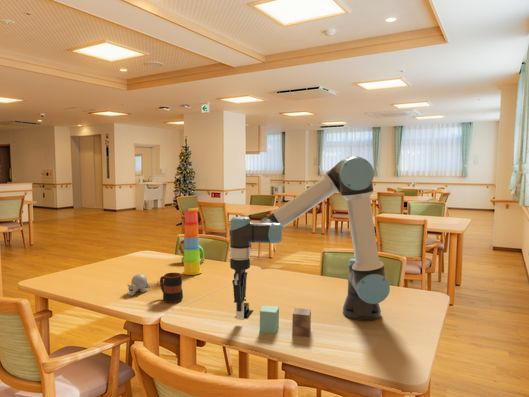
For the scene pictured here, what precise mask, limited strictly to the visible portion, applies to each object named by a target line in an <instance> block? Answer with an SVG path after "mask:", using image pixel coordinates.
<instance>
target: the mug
mask: <svg viewBox="0 0 529 397" xmlns="http://www.w3.org/2000/svg"><path fill="white" fill-rule="evenodd" d="M182 277H183V276H182V274H181V273H179V272H167V273H165V274H164V275H163V276H161V277H160V278H159V286H160V289H161V292H162V299H163V301H164V303H166V304H167V303H168V304H176V303H180V302H181V301H182V300H183V298H184V294H183V293H184V292H183V288H182V287H183V286H182V284H183V278H182Z"/></svg>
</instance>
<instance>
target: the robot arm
mask: <svg viewBox="0 0 529 397" xmlns="http://www.w3.org/2000/svg"><path fill="white" fill-rule="evenodd" d="M374 176H375V171H374V168H373V165H372V164H371V163H370V162H369V161H368V160H367V159H365V158H364V157H361V156H350V157H344V158H343V159H341V160H340V161H339V162H337V163H336V164H335V165H334V166H333V167H331V168H330V169H329V170H328V171H327V172H325V173H324V177H322V178H321V179H320V180H318V181H316V182H315V183H314V184H312V185H311V186H309V187H308V188H306V189H305V190H303V191H302V192H301V193H299V194H298V195H297V196H295V197H293V198H292V199H291V200H289V201H287V202H286V203H285V204H282V206H281V207H279V208H277V209H276V210H274V211H273V212H272V213H270V214H269V215H267V216H265V217H263V218H261V219H260V220H259V222H251V219H250V217H248V216H234V217H232V218H231V219H230V224H229V228H230V229H229V239H230V240H229V243H230V244H229V246H230V248H229V249H228V252H230V257H231V258H230V259H229V262H230V263H229V264H230V265H229V266H230V269H231V270H234V273H233V279H232V282H231V283H232V286H233V287H232V289H233V299H234V301H233V303H235V316H236V318H235V320H244V319H245V318H244V303H245V302H247V298H246V294H247V292H246V291H247V279H248V278H247V277H248V272H247V271H246V270H249V269H250V268H251V259H250V257H251V243H254V244H257V243H258V244H259V243H263V244H278V243H281V242H282V240H283V239H282V238H283V237H282V236H283V229H284V228H285V227H286V226H288V225H289V224H292V223H293V222H294V221H296V220H297V219H298V218H300V217H302V216H303V215H304V214H306V213H307V212H308V211H311V209H313V208H314V207H316V206H317V205H319V204H320V203H322V202H323V201H325V200H326V199H328V198H329V197H331V196H332V195H334V194H340V193H341V194H340V195H341V197H342V198H344V199H345V200H346V207H347V208H346V209H347V213H348V222H349V226H350V228H349V229H350V233H351V234H350V235H351V240H352V247H353V255H354V258H350V259H349V260H348V264H347V273H348V274H347V295H346V298H345V300H344V303H343V306H342V314H343V315H344V316H346V317H347V318H348V319H349V318H350V319H352V320H356V321H357V320H358V321H374V320H375V321H376V320H378V319H380V318H381V316H382V315H381V312H382V311H381V307H380V303H382V302H384V301H385V300H386V299H387V298H388V296H389V294H390V291H391V287H390V282H389V280H388V279H387V277H386V270H385V264H384V262H383V261H381V260H380V259H379V252H378V244H377V239H376V238H377V237H376V231H375V223H374V217H373V215H374V214H373V209H372V202H371V196H372V194H373V193H374V184H373V181H374Z"/></svg>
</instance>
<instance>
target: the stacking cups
mask: <svg viewBox="0 0 529 397" xmlns="http://www.w3.org/2000/svg"><path fill="white" fill-rule="evenodd" d="M198 218H199V217H198V212H197V211H195V210H194V211H192V210H191V211H185V212H184V223H183V226H184V229H183V230H184V235H183V240H184V248H183V249H184V260H183V262H184V263H183V262H182V263H183V265H184V266H183V270H184V271H183V272H182V274H183V275H186V276H195V275H199V274H202V270H201V263H200V261H201V259H200V256H201V255H200V250H199V249H200V247H199V246H200V244H199V243H200V241H199V240H200V235H199V222H198Z"/></svg>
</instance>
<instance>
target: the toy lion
mask: <svg viewBox="0 0 529 397" xmlns="http://www.w3.org/2000/svg"><path fill="white" fill-rule="evenodd" d="M199 247H200V249H199V252H200V255H199V256H200V259H201V261H200V264H202V263H203V262H204V261H205V259H206V258H205V251H204V249H203V247H202V246H201V245H199ZM183 248H184V239H181V241H180V242H179V243H178V250H179V251H180V254H182V258H181V262H182V263H183V264H184V262H183V260H184V249H183Z"/></svg>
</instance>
